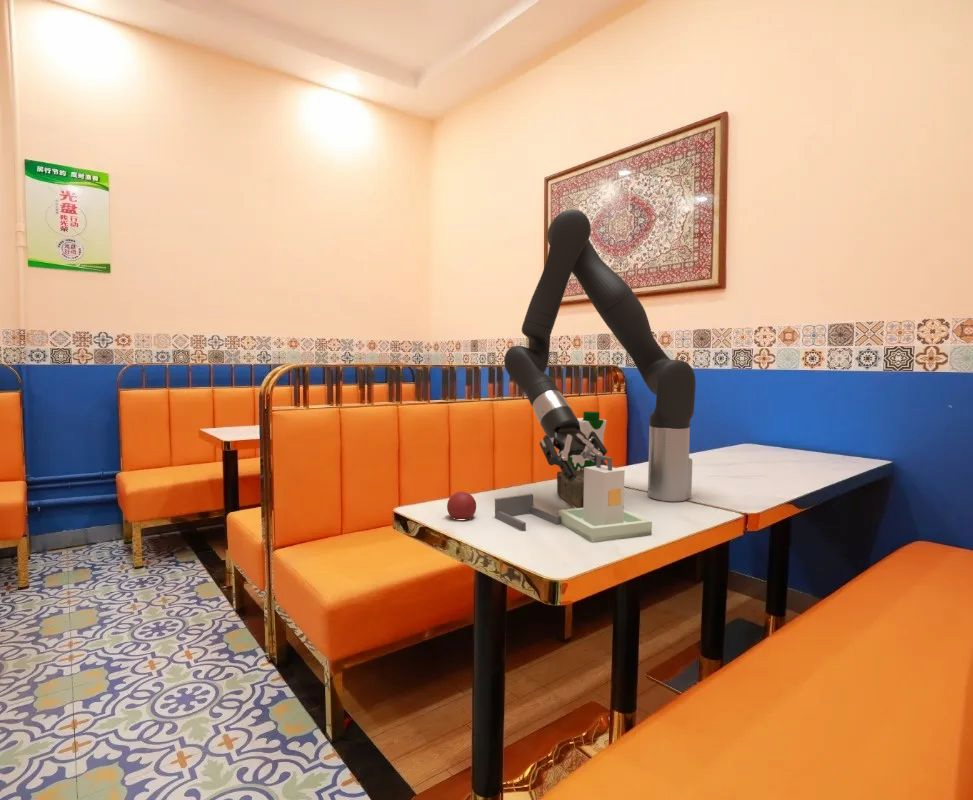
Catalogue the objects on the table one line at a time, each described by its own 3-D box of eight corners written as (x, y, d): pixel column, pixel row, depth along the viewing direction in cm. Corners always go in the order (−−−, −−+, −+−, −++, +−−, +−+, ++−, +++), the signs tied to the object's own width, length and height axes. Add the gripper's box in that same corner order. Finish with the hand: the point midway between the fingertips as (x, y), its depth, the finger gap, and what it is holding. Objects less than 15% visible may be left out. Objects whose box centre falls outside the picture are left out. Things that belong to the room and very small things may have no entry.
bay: (531, 511, 117) (531, 493, 116) (560, 523, 108) (560, 504, 107) (494, 517, 112) (495, 498, 112) (522, 530, 103) (522, 510, 103)
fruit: (451, 531, 110) (459, 502, 106) (441, 511, 114) (449, 483, 110) (478, 526, 112) (487, 498, 108) (467, 507, 117) (476, 480, 113)
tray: (613, 516, 113) (613, 504, 113) (651, 534, 101) (651, 521, 101) (558, 522, 109) (558, 510, 109) (591, 542, 97) (591, 528, 97)
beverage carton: (584, 517, 113) (585, 486, 113) (555, 495, 132) (555, 469, 132) (619, 515, 115) (620, 484, 115) (585, 494, 134) (586, 468, 133)
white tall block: (602, 518, 109) (603, 453, 108) (624, 526, 104) (625, 457, 103) (583, 521, 106) (584, 455, 106) (604, 530, 101) (605, 460, 100)
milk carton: (583, 493, 133) (584, 413, 132) (560, 486, 141) (560, 410, 139) (609, 489, 138) (610, 412, 137) (584, 482, 146) (585, 409, 144)
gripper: (536, 405, 111) (570, 469, 102) (588, 403, 118) (625, 462, 109) (521, 428, 116) (553, 491, 107) (572, 424, 123) (606, 483, 114)
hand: (589, 476), depth 108 cm, fingers open, 8 cm apart
